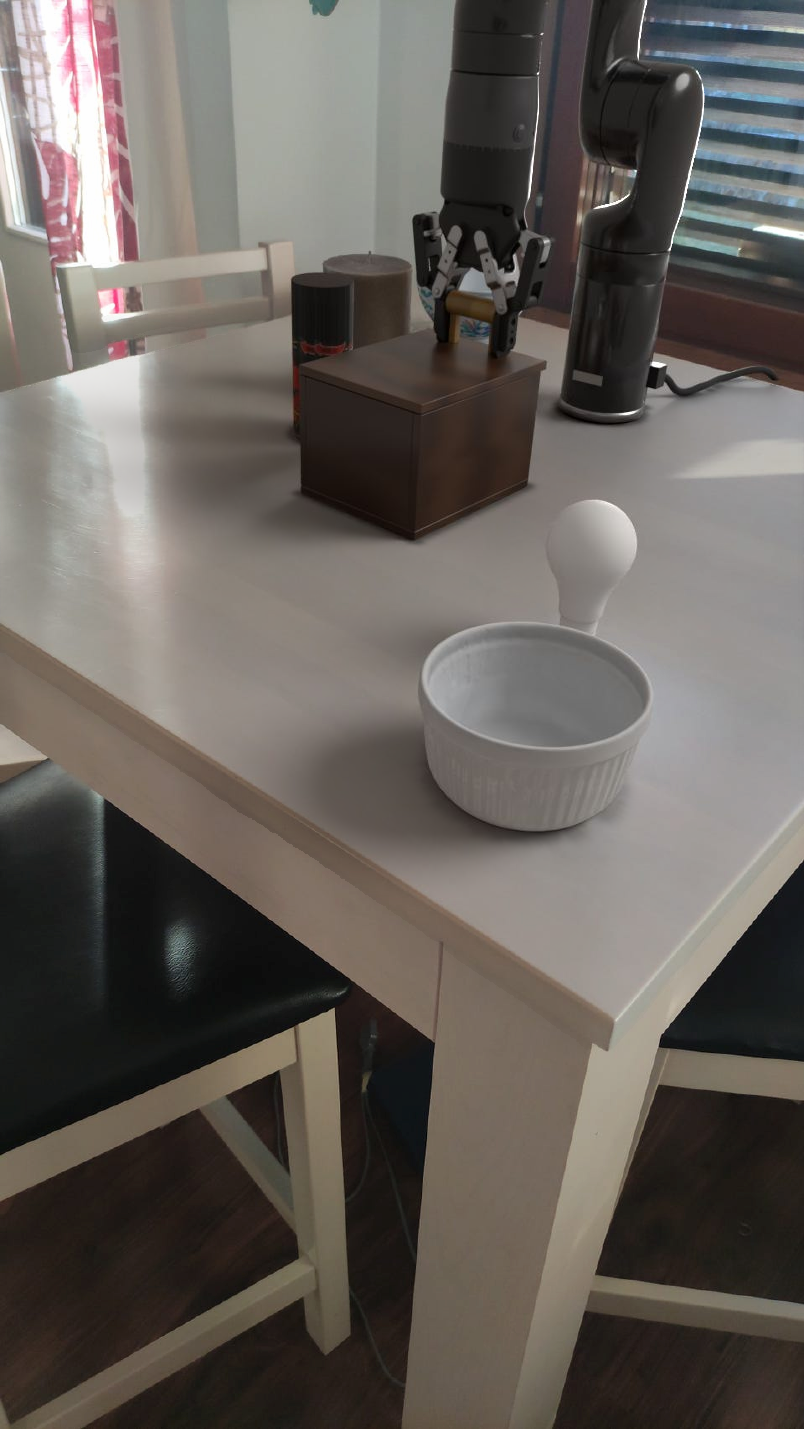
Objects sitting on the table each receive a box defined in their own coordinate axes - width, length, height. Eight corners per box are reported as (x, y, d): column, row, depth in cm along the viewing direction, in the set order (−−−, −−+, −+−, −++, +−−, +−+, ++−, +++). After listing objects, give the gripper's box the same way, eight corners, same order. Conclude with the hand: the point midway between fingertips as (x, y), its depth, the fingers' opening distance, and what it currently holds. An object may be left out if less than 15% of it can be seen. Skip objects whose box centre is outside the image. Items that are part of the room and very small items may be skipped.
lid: (428, 336, 101) (432, 278, 98) (546, 369, 94) (553, 307, 91) (298, 374, 90) (297, 309, 87) (420, 414, 83) (424, 346, 80)
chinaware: (404, 349, 134) (407, 285, 129) (422, 319, 146) (425, 259, 141) (522, 360, 132) (529, 295, 127) (530, 328, 144) (536, 268, 140)
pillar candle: (423, 389, 121) (431, 250, 113) (376, 412, 114) (381, 265, 106) (353, 372, 125) (356, 236, 117) (304, 393, 118) (303, 250, 110)
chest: (417, 447, 106) (423, 338, 100) (527, 486, 99) (541, 371, 93) (300, 493, 96) (298, 374, 90) (414, 540, 89) (420, 415, 83)
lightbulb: (624, 634, 78) (650, 494, 71) (609, 675, 73) (636, 530, 67) (543, 617, 79) (562, 479, 73) (523, 657, 74) (542, 513, 68)
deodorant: (343, 446, 106) (345, 290, 97) (286, 440, 106) (283, 284, 98) (357, 426, 110) (360, 275, 102) (302, 420, 111) (300, 270, 103)
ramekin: (473, 874, 56) (484, 772, 52) (378, 736, 66) (382, 641, 62) (677, 816, 61) (702, 719, 57) (561, 695, 71) (575, 604, 67)
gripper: (589, 144, 84) (561, 357, 94) (449, 124, 92) (437, 323, 102) (535, 151, 80) (512, 375, 89) (392, 129, 87) (385, 338, 97)
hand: (472, 347), depth 95 cm, fingers closed on lid, 5 cm apart
